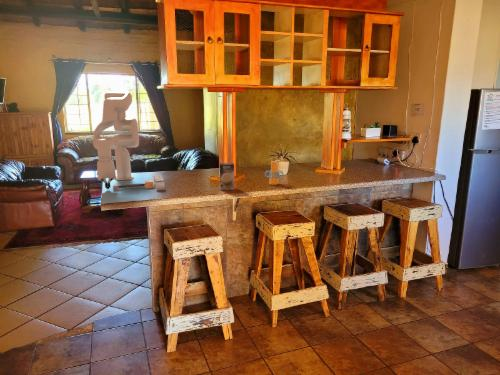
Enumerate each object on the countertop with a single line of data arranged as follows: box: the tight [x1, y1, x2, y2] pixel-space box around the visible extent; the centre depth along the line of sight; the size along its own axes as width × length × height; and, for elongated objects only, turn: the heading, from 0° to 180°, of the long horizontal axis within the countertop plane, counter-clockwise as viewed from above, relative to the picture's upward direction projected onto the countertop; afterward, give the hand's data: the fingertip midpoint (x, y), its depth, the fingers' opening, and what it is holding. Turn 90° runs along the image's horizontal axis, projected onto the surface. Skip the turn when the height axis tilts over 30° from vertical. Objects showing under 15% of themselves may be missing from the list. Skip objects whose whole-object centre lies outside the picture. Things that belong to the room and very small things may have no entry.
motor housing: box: [152, 174, 166, 191], centre depth 235 cm, size 20×5×6 cm, turn 19°
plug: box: [112, 180, 155, 192], centre depth 230 cm, size 4×24×4 cm, turn 109°
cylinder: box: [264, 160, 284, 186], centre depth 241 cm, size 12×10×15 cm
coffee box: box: [219, 162, 235, 191], centre depth 227 cm, size 9×6×16 cm
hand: (108, 188), depth 226 cm, fingers closed
